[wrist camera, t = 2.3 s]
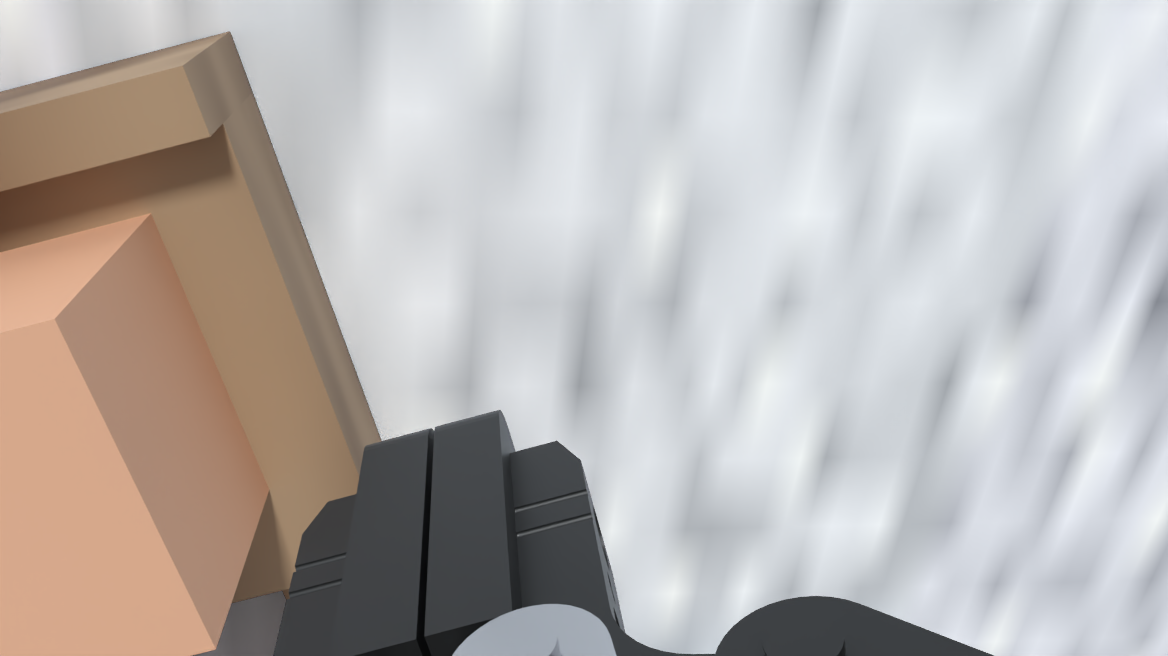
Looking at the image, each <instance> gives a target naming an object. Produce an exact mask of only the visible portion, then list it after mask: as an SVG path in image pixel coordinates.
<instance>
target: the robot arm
mask: <svg viewBox="0 0 1168 656" xmlns="http://www.w3.org/2000/svg"><path fill="white" fill-rule="evenodd" d="M295 569H296V572H293V575H292V579H291V583H290V588H289V592H288V593H289V597H290V599H287V600H286V604H285V609H284V613H283V617H282V621H281V625H280V630H279V634H278V638H277V642H276V646H275V651H274V655H273V656H993V655H991V654H988V653H986V652H983V651H980V650H978V649H975V648H973V647H970V646H967V645H965V644H962V643H960V642H957V641H955V640H952V639H949V638H947V637H944V636H942V635H939V634H936V633H934V632H931V631H929V630H926V629H923V628H921V627H918V626H916V625H913V624H911V623H908V622H905V621H903V620H900V619H898V618H895V617H892V616H890V615H887V614H885V613H882V612H879V611H877V610H874V609H872V608H869V607H867V606H864V605H861V604H859V603H855V602H852V601H849V600H846V599H840V598H834V597H822V596H809V597H798V598H792V599H786V600H782V601H779V602H776V603H772V604H769V605H767V606H765V607H762V608H760V609H758V610H756V611H754V612H752V613H751V614H749V615H747V616H746V617H744V618H743V619H742V620H740V621H739V622H738V623H737V624H736V625H734V626H733V627H732V628H731V629H730V631H729V632H728V633H727V634H726V635H725V636H724V638H723V639H722V641H721V643H720V644H719V646H718V648H717V651H716V654H676V653H670V652H664V651H660V650H657V649H653V648H650V647H647V646H645V645H643V644H641V643H639V642H637V641H635V640H634V639H632V638H631V637H629V636H628V635H627V634H626V633H625V630H624V625H623V620H622V616H621V611H620V607H619V602H618V597H617V592H616V587H615V583H614V578H613V573H612V570H611V566H610V563H609V559H608V556H607V552H606V548H605V545H604V541H603V538H602V534H601V531H600V527H599V523H598V520H597V516H596V513H595V509H594V506H593V502H592V499H591V495H590V491H589V488H588V484H587V481H586V477H585V474H584V470H583V467H582V463H581V460H580V459H578V458H577V457H576V456H575V455H574V454H572V453H571V452H570V451H569V450H568V449H566V448H565V447H564V446H563V445H561V444H560V443H559V442H558V441H555V442H551V443H547V444H543V445H540V446H536V447H532V448H528V449H524V450H521V451H517V452H515V448H514V445H513V442H512V439H511V436H510V432H509V429H508V426H507V423H506V421H505V418H504V416H503V413H502V412H501V410H497V411H494V412H490V413H486V414H482V415H479V416H475V417H471V418H467V419H463V420H460V421H456V422H452V423H448V424H444V425H441V426H437V427H435V431H434V430H433V429H431V428H430V429H426V430H422V431H419V432H415V433H411V434H407V435H403V436H400V437H396V438H392V439H388V440H385V441H381V442H377V443H373V444H369V445H366V446H365V448H364V452H363V458H362V464H361V470H360V476H359V482H358V487H357V493H356V494H355V495H351V496H347V497H343V498H339V499H336V500H332V501H328V502H327V503H326V504H325V506H324V507H323V508H322V510H321V511H320V512H319V513H318V515H317V516H316V517H315V518H314V520H313V521H312V522H311V524H310V525H309V526H308V527H307V529H306V530H305V531H304V533H303V534H302V537H301V542H300V546H299V550H298V554H297V558H296V563H295Z"/></svg>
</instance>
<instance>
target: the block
mask: <svg viewBox="0 0 1168 656" xmlns="http://www.w3.org/2000/svg"><path fill="white" fill-rule="evenodd" d="M268 492H269V488H268V485H267V483H266V481H265V478H264V476H263V474H262V471H261V469H260V467H259V464H258V462H257V460H256V457H255V455H254V453H253V450H252V448H251V446H250V443H249V441H248V439H247V436H246V434H245V432H244V429H243V427H242V425H241V422H240V420H239V418H238V415H237V413H236V411H235V408H234V406H233V404H232V401H231V399H230V397H229V394H228V392H227V390H226V387H225V385H224V383H223V380H222V378H221V376H220V373H219V371H218V369H217V366H216V364H215V362H214V359H213V357H212V355H211V352H210V350H209V348H208V345H207V343H206V341H205V338H204V336H203V334H202V331H201V329H200V327H199V324H198V322H197V320H196V317H195V315H194V313H193V310H192V308H191V306H190V303H189V301H188V299H187V296H186V294H185V292H184V289H183V287H182V285H181V282H180V280H179V278H178V275H177V273H176V271H175V268H174V266H173V264H172V261H171V259H170V257H169V254H168V252H167V250H166V247H165V245H164V243H163V240H162V238H161V236H160V233H159V231H158V229H157V226H156V224H155V222H154V219H153V217H152V215H151V213H150V214H146V215H142V216H138V217H134V218H131V219H127V220H123V221H119V222H115V223H111V224H108V225H104V226H100V227H96V228H92V229H88V230H85V231H81V232H77V233H73V234H69V235H65V236H62V237H58V238H54V239H50V240H46V241H42V242H39V243H35V244H31V245H27V246H23V247H19V248H16V249H12V250H8V251H4V252H0V656H192V655H196V654H200V653H204V652H208V651H212V650H216V648H217V645H218V642H219V639H220V636H221V633H222V630H223V627H224V624H225V621H226V618H227V615H228V612H229V609H230V606H231V603H232V600H233V597H234V594H235V591H236V588H237V585H238V582H239V579H240V576H241V573H242V570H243V567H244V564H245V561H246V558H247V555H248V552H249V549H250V546H251V543H252V540H253V537H254V534H255V531H256V528H257V525H258V522H259V519H260V516H261V513H262V510H263V507H264V504H265V501H266V498H267V495H268Z"/></svg>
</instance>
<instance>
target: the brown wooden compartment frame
mask: <svg viewBox="0 0 1168 656" xmlns="http://www.w3.org/2000/svg"><path fill="white" fill-rule="evenodd" d="M150 213H151V215H152V217H153V219H154V222H155V224H156V226H157V229H158V231H159V233H160V236H161V238H162V240H163V243H164V245H165V247H166V250H167V252H168V254H169V257H170V259H171V261H172V264H173V266H174V268H175V271H176V273H177V275H178V278H179V280H180V282H181V285H182V287H183V289H184V292H185V294H186V296H187V299H188V301H189V303H190V306H191V308H192V310H193V313H194V315H195V317H196V320H197V322H198V324H199V327H200V329H201V331H202V334H203V336H204V338H205V341H206V343H207V345H208V348H209V350H210V352H211V355H212V357H213V359H214V362H215V364H216V366H217V369H218V371H219V373H220V376H221V378H222V380H223V383H224V385H225V387H226V390H227V392H228V394H229V397H230V399H231V401H232V404H233V406H234V408H235V411H236V413H237V415H238V418H239V420H240V422H241V425H242V427H243V429H244V432H245V434H246V436H247V439H248V441H249V443H250V446H251V448H252V450H253V453H254V455H255V457H256V460H257V462H258V464H259V467H260V469H261V471H262V474H263V476H264V478H265V481H266V483H267V485H268V488H269V492H268V495H267V498H266V501H265V504H264V507H263V510H262V513H261V516H260V519H259V522H258V525H257V528H256V531H255V534H254V537H253V540H252V543H251V546H250V549H249V552H248V555H247V558H246V561H245V564H244V567H243V570H242V573H241V576H240V579H239V582H238V585H237V588H236V591H235V594H234V597H233V600H232V603H235V602H239V601H243V600H247V599H251V598H254V597H258V596H262V595H266V594H270V593H274V592H278V591H283V594H284V596H285V598H286V600H287V599H290V597H289V593H288V592H289V588H290V583H291V579H292V575H293V572H296V569H295V563H296V558H297V554H298V550H299V546H300V542H301V537H302V534H303V533H304V531H305V530H306V529H307V527H308V526H309V525H310V524H311V522H312V521H313V520H314V518H315V517H316V516H317V515H318V513H319V512H320V511H321V510H322V508H323V507H324V506H325V504H326V503H327V502H328V501H332V500H336V499H339V498H343V497H347V496H351V495H355V494H356V493H357V487H358V482H359V476H360V470H361V464H362V458H363V452H364V448H365V446H366V445H369V444H373V443H377V442H381V439H380V436H379V433H378V431H377V428H376V425H375V423H374V420H373V417H372V414H371V412H370V409H369V406H368V404H367V401H366V398H365V396H364V393H363V390H362V387H361V385H360V382H359V379H358V377H357V374H356V371H355V368H354V366H353V363H352V360H351V358H350V355H349V352H348V350H347V347H346V344H345V341H344V339H343V336H342V333H341V331H340V328H339V325H338V322H337V320H336V317H335V314H334V312H333V309H332V306H331V304H330V301H329V298H328V295H327V293H326V290H325V287H324V285H323V282H322V279H321V277H320V274H319V271H318V268H317V266H316V263H315V260H314V258H313V255H312V252H311V249H310V247H309V244H308V241H307V239H306V236H305V233H304V231H303V228H302V225H301V222H300V220H299V217H298V214H297V212H296V209H295V206H294V203H293V201H292V198H291V195H290V193H289V190H288V187H287V185H286V182H285V179H284V176H283V174H282V171H281V168H280V166H279V163H278V160H277V157H276V155H275V152H274V149H273V147H272V144H271V141H270V139H269V136H268V133H267V130H266V128H265V125H264V122H263V120H262V117H261V114H260V112H259V109H258V106H257V103H256V101H255V98H254V95H253V93H252V90H251V87H250V84H249V82H248V79H247V76H246V74H245V71H244V68H243V66H242V63H241V60H240V57H239V55H238V52H237V49H236V47H235V44H234V41H233V38H232V36H231V33H230V32H226V33H222V34H218V35H214V36H211V37H207V38H203V39H199V40H195V41H192V42H188V43H184V44H180V45H176V46H173V47H169V48H165V49H161V50H158V51H154V52H150V53H146V54H142V55H139V56H135V57H131V58H127V59H123V60H120V61H116V62H112V63H108V64H104V65H101V66H97V67H93V68H89V69H86V70H82V71H78V72H74V73H70V74H67V75H63V76H59V77H55V78H51V79H48V80H44V81H40V82H36V83H32V84H29V85H25V86H21V87H17V88H13V89H10V90H6V91H2V92H0V252H4V251H8V250H12V249H16V248H19V247H23V246H27V245H31V244H35V243H39V242H42V241H46V240H50V239H54V238H58V237H62V236H65V235H69V234H73V233H77V232H81V231H85V230H88V229H92V228H96V227H100V226H104V225H108V224H111V223H115V222H119V221H123V220H127V219H131V218H134V217H138V216H142V215H146V214H150Z"/></svg>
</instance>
